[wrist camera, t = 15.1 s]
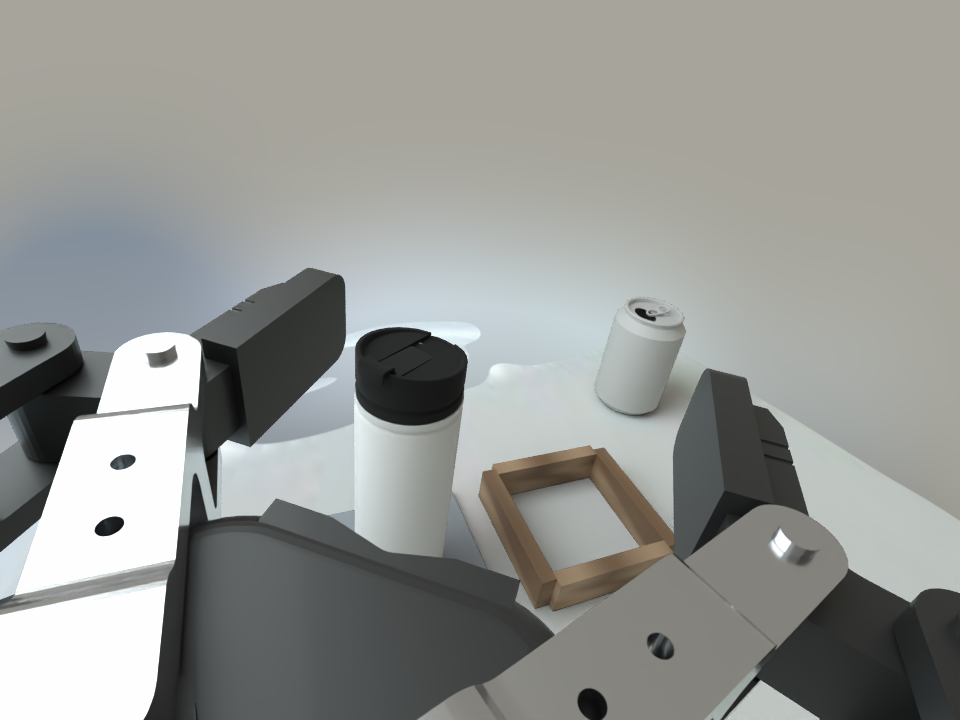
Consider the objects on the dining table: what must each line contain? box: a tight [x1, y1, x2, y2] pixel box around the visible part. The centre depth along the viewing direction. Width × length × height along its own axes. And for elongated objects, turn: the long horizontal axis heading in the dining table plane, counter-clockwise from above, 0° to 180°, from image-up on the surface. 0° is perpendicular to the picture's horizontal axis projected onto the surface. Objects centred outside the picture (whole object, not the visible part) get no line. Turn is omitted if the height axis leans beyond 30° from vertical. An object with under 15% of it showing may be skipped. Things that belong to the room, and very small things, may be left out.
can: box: [595, 297, 686, 415], centre depth 60 cm, size 8×8×12 cm
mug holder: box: [479, 446, 674, 611], centre depth 46 cm, size 12×12×3 cm
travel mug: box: [354, 327, 468, 558], centre depth 35 cm, size 6×7×20 cm
